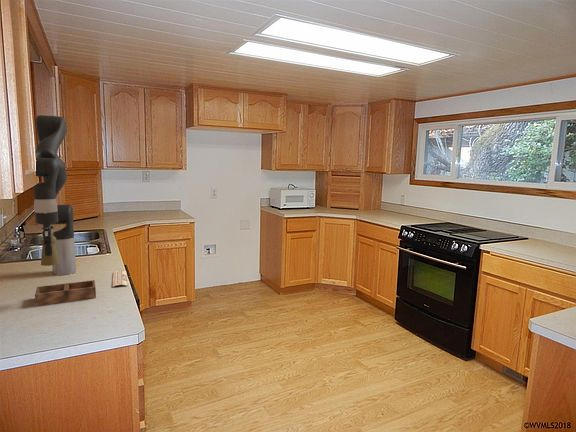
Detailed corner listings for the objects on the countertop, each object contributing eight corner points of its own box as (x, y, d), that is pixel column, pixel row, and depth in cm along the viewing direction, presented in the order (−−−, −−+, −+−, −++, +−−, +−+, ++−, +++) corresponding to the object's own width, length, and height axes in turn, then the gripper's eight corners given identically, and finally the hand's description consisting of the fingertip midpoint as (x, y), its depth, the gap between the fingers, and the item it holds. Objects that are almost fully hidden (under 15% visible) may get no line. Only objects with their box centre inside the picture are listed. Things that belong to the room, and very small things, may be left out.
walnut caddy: (35, 306, 146) (34, 294, 146) (38, 297, 155) (37, 286, 154) (96, 297, 156) (95, 287, 155) (94, 290, 165) (94, 280, 164)
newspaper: (113, 274, 190) (113, 271, 190) (128, 273, 193) (128, 269, 192) (112, 289, 168) (112, 285, 168) (130, 287, 171) (129, 283, 171)
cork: (55, 260, 155) (53, 233, 154) (61, 263, 152) (59, 235, 150) (38, 263, 151) (36, 235, 149) (44, 266, 147) (42, 238, 145)
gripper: (36, 208, 153) (39, 251, 155) (32, 213, 140) (36, 259, 143) (58, 208, 156) (61, 249, 159) (56, 212, 144) (59, 257, 146)
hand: (49, 254), depth 151 cm, fingers closed on cork, 4 cm apart
